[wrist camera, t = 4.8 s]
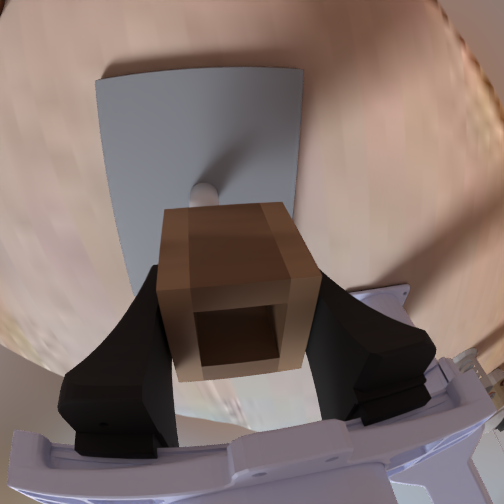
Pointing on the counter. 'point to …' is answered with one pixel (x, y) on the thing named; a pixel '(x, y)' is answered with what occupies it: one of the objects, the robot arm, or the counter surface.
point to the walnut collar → (235, 290)
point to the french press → (466, 363)
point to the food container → (1, 5)
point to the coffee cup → (498, 392)
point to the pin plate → (195, 146)
